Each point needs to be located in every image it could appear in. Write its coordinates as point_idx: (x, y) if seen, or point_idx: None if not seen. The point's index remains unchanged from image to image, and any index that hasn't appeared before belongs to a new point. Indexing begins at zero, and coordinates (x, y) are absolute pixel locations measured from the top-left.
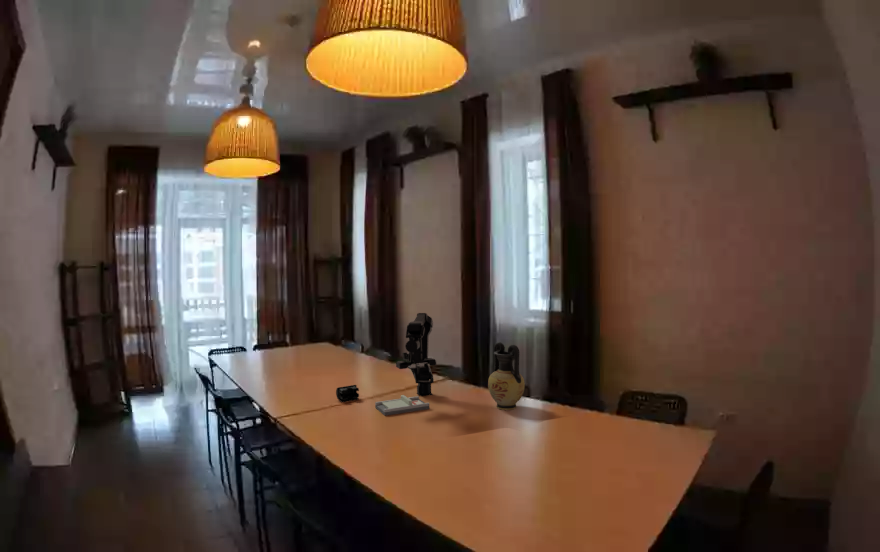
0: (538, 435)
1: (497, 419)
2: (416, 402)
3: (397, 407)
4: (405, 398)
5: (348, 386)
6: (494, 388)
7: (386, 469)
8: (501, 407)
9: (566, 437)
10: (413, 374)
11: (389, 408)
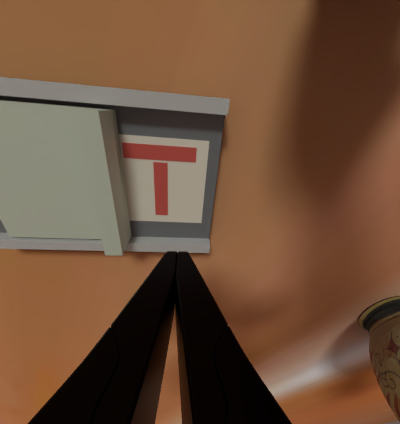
0: (274, 397)
1: (290, 352)
2: (179, 176)
3: (50, 245)
4: (95, 207)
5: None
6: (394, 404)
7: (26, 414)
8: (364, 324)
9: (295, 405)
10: (114, 338)
11: (7, 242)
